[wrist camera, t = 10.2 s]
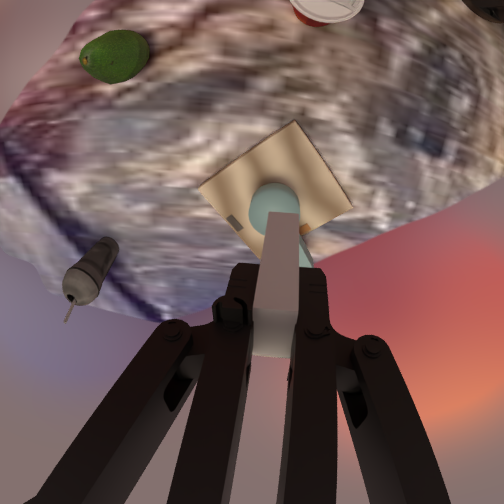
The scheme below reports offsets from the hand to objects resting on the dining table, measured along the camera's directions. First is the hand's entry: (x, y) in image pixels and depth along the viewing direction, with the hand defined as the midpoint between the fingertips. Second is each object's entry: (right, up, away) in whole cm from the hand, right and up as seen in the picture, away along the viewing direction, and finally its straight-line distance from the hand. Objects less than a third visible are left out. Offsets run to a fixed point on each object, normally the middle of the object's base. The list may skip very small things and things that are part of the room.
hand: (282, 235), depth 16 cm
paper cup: (+7, +32, +15) cm, 36 cm away
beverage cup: (-30, 0, +42) cm, 51 cm away
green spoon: (+4, +3, +30) cm, 30 cm away
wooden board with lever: (+2, +8, +32) cm, 33 cm away
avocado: (-19, +28, +20) cm, 40 cm away
